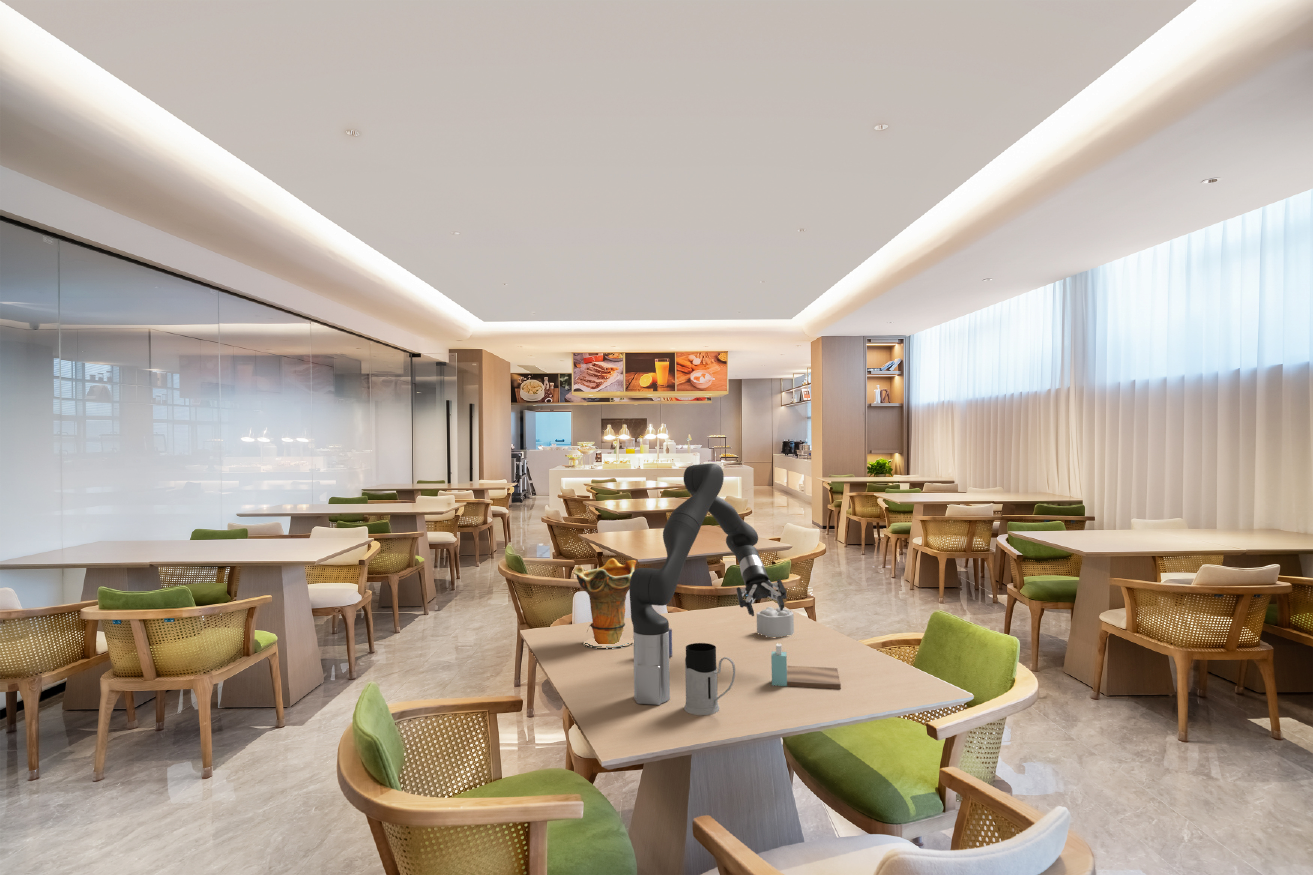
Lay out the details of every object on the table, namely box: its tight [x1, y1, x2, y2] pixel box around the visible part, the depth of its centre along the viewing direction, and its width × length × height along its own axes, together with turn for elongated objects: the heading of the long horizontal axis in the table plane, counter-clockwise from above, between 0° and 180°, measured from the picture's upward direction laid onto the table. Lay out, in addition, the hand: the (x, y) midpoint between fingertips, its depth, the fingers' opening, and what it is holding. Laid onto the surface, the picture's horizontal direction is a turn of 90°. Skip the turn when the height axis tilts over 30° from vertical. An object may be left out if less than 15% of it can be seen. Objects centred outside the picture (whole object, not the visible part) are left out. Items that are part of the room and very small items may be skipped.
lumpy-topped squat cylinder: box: [756, 606, 795, 638], centre depth 232 cm, size 10×13×9 cm
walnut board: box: [786, 665, 842, 690], centre depth 182 cm, size 14×14×1 cm
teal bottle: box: [770, 643, 788, 687], centre depth 180 cm, size 4×4×10 cm
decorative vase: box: [573, 557, 637, 648], centre depth 224 cm, size 21×23×28 cm
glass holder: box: [683, 642, 736, 716], centre depth 160 cm, size 9×14×15 cm, turn 51°
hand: (767, 611), depth 190 cm, fingers open, 8 cm apart
